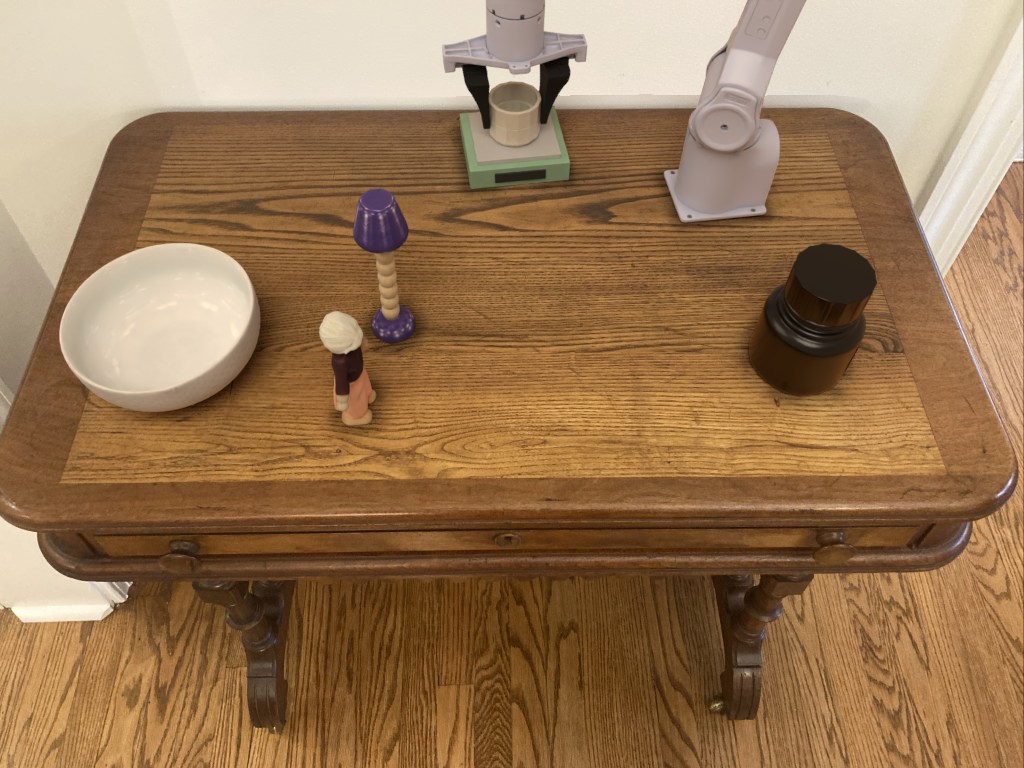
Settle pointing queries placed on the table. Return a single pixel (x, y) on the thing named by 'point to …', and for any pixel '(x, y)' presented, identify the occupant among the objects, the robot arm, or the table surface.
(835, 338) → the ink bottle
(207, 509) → the table surface
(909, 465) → the table surface
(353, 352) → the grandmother figurine
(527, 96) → the white cup
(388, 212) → the toy lamp
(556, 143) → the scale
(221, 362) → the cereal bowl
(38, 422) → the table surface
